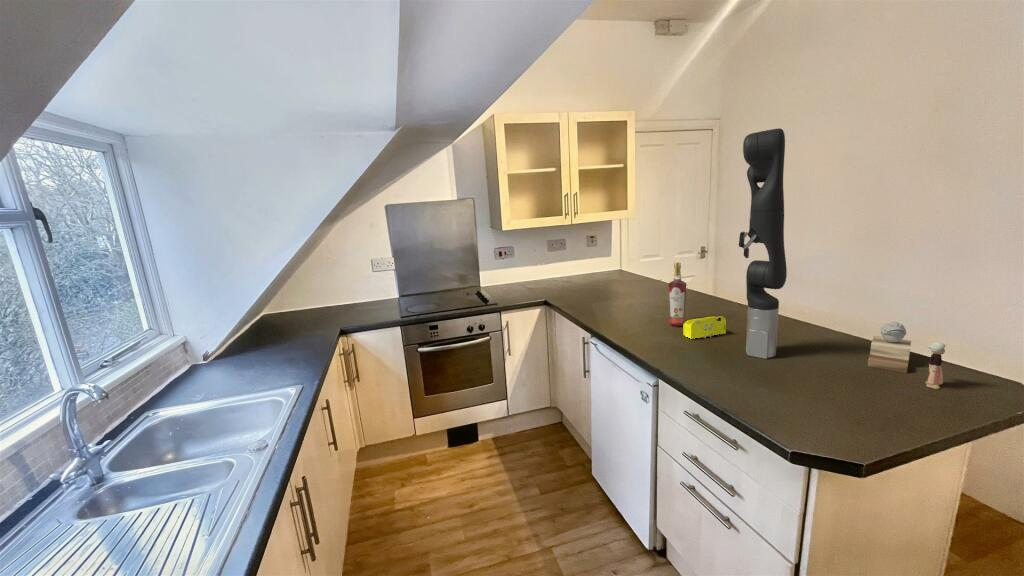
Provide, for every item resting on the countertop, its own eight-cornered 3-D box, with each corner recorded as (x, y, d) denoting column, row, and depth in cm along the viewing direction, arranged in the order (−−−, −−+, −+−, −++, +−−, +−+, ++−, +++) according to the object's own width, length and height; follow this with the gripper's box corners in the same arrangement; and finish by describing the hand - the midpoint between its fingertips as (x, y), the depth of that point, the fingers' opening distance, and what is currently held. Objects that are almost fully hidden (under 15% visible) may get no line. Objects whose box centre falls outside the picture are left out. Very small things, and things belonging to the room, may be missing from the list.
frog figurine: (883, 345, 130) (885, 324, 128) (875, 338, 136) (878, 317, 135) (908, 346, 127) (911, 325, 126) (899, 339, 133) (902, 318, 132)
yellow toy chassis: (691, 341, 163) (691, 321, 161) (682, 337, 168) (682, 317, 166) (726, 335, 166) (727, 315, 164) (716, 331, 171) (717, 312, 170)
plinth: (906, 373, 123) (909, 354, 122) (867, 366, 130) (869, 348, 128) (908, 358, 133) (911, 340, 132) (872, 352, 139) (874, 335, 138)
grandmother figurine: (946, 391, 112) (953, 347, 109) (927, 389, 114) (933, 346, 111) (937, 380, 118) (944, 338, 115) (919, 378, 120) (925, 337, 117)
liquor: (687, 323, 184) (688, 261, 178) (684, 328, 178) (684, 264, 172) (670, 321, 188) (670, 261, 182) (666, 326, 182) (666, 264, 176)
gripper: (737, 218, 161) (736, 259, 164) (779, 217, 151) (777, 260, 154) (743, 216, 166) (742, 256, 169) (785, 215, 156) (782, 257, 159)
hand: (759, 258), depth 161 cm, fingers open, 8 cm apart
